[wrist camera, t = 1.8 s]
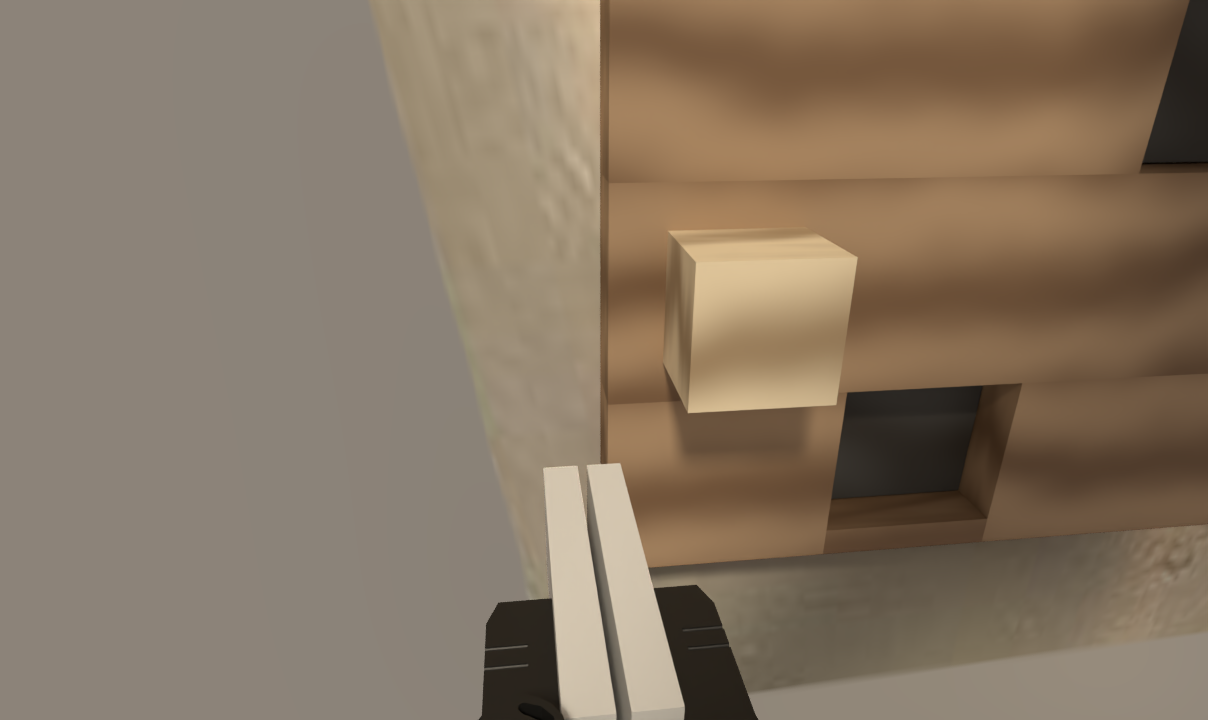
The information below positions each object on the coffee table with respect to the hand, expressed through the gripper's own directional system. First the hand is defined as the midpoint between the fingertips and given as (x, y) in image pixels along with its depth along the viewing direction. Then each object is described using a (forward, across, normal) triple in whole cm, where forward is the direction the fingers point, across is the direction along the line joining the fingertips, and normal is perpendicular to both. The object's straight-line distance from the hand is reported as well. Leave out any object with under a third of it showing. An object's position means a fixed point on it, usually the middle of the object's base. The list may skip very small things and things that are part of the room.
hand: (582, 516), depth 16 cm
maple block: (+15, +8, 0) cm, 17 cm away
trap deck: (+18, +22, 0) cm, 29 cm away
